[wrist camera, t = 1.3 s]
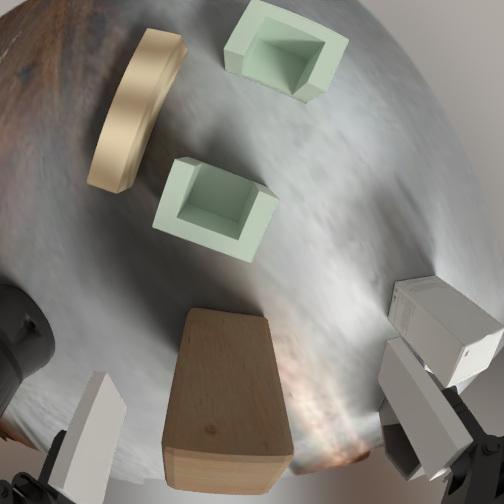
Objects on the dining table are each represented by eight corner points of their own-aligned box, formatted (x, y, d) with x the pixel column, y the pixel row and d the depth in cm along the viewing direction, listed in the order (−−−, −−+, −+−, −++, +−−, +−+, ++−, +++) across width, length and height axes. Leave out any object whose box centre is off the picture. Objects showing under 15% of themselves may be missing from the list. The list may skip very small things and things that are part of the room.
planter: (414, 368, 35) (431, 486, 23) (449, 356, 35) (468, 465, 23) (374, 388, 49) (387, 477, 37) (405, 379, 49) (419, 464, 37)
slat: (133, 186, 29) (116, 193, 24) (106, 176, 28) (86, 182, 23) (188, 51, 24) (180, 35, 19) (159, 44, 23) (147, 28, 18)
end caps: (246, 238, 31) (250, 263, 25) (169, 209, 29) (152, 227, 23) (325, 59, 25) (349, 39, 18) (248, 27, 23) (252, -2, 16)
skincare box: (386, 318, 37) (441, 392, 22) (394, 277, 35) (463, 346, 20) (429, 310, 37) (487, 371, 23) (438, 271, 35) (508, 327, 20)
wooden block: (189, 302, 34) (158, 447, 15) (269, 314, 35) (300, 456, 16) (183, 362, 37) (164, 490, 18) (253, 370, 38) (268, 497, 20)
